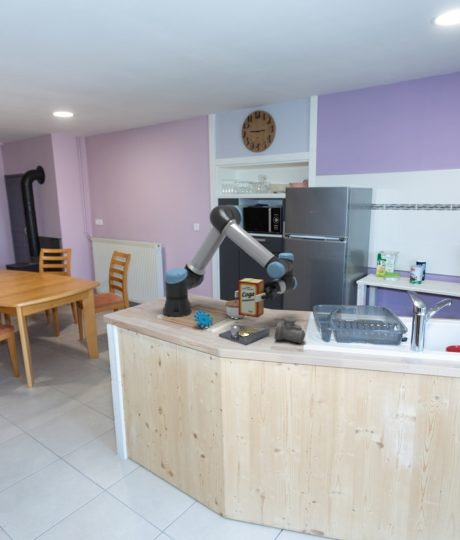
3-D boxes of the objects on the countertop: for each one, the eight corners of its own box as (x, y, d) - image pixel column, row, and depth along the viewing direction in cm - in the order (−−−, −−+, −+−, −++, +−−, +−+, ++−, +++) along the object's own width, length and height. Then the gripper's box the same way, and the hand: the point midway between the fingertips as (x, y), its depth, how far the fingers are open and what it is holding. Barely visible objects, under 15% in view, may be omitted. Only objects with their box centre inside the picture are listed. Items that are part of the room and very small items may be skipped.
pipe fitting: (272, 341, 165) (275, 318, 163) (278, 336, 172) (282, 314, 170) (299, 348, 160) (303, 325, 158) (304, 344, 167) (308, 321, 165)
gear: (198, 327, 179) (192, 309, 184) (193, 334, 183) (187, 316, 188) (218, 326, 186) (211, 308, 191) (212, 332, 189) (206, 315, 194)
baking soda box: (263, 313, 176) (263, 279, 173) (258, 317, 170) (258, 282, 167) (244, 311, 180) (244, 277, 177) (238, 314, 174) (238, 280, 171)
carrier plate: (218, 336, 172) (218, 323, 171) (242, 327, 184) (242, 315, 183) (246, 345, 162) (246, 331, 161) (269, 335, 173) (269, 322, 172)
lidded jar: (221, 317, 200) (221, 299, 199) (237, 313, 207) (236, 296, 206) (235, 321, 192) (235, 303, 191) (250, 317, 199) (250, 299, 198)
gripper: (294, 299, 180) (266, 309, 164) (255, 291, 195) (225, 300, 179) (295, 283, 178) (267, 292, 162) (255, 277, 194) (225, 284, 177)
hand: (245, 296), depth 171 cm, fingers closed on baking soda box, 11 cm apart
